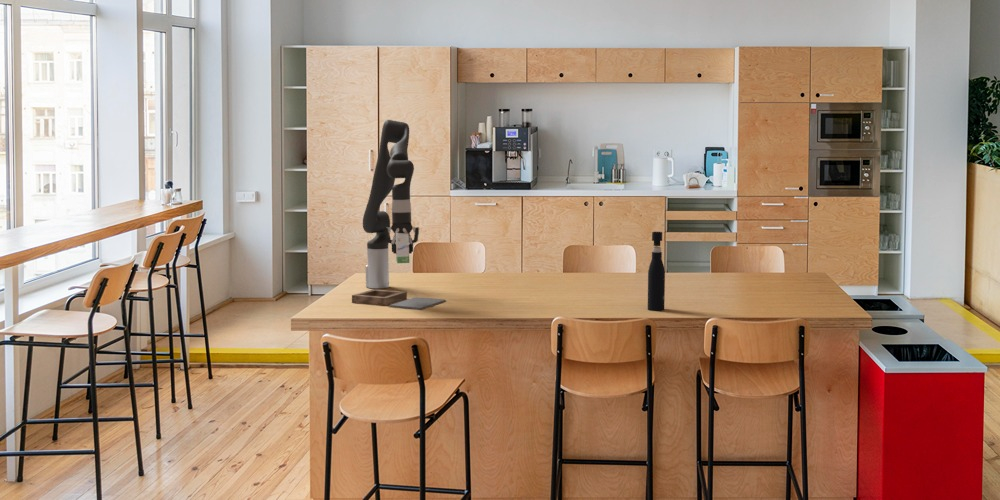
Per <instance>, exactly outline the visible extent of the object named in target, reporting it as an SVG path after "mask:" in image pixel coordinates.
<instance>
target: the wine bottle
mask: <svg viewBox="0 0 1000 500" xmlns="http://www.w3.org/2000/svg"><path fill="white" fill-rule="evenodd" d="M651 241H652V242H653V247H652V252H651V261H650V263H649V266H648V272H647V274H648V275H647V310H648V311H653V312H660V311H661V312H662V311H664V310H665V300H666V299H665V298H666V297H665V295H666V294H665V291H666V290H665V288H666V287H665V286H666V284H665V283H666V271H665V266H664V262H663V258H662V257H663V252H662V247H661V242H662V241H663V232H662V231H652V233H651Z"/></svg>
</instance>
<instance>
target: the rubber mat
mask: <svg viewBox="0 0 1000 500" xmlns="http://www.w3.org/2000/svg"><path fill="white" fill-rule="evenodd" d="M445 302H447V300H446V299H444V298H443V299H441V298H430V297H418V296H415V297H411V298H409V299H408V298H407V299H406V300H403V301H400V302H396V303H393V304H390V305H389V308H397V309H406V310H418V311H420V310H425V309H427V308H431V307H434V306H437V305H439V304H443V303H445Z"/></svg>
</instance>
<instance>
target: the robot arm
mask: <svg viewBox="0 0 1000 500" xmlns="http://www.w3.org/2000/svg"><path fill="white" fill-rule="evenodd" d="M380 135H381V136H380V142H379V149H378V155H377V160H376V164H375V168H374V173H373V176H372V182H371V188H370V193H369V196H368V201H367V204H366V207H365V209H364V213H363V217H362V228H363V231H364V232H365V233H367V234H375V236H374V237H373V238H372V239H370V240H368V241H367V243H366V254H367V258H366V259H367V265H365V288H369V289H387V288H389V287H390V274H389V273H390V271H389V270H390V268H389V267H390V263H389V261H390V260H389V259H390V258H389V254H390V253H389V244H390V245H391V252H392V253H393V254H395V255H396V233H406V234H409V255H410V254H413V253H412V252H414V244H415V243H417V242H418V240H419V236H420V235H419V234H420V227H419V226H417V227H416V226H413V224H412V205H411V204H412V203H411V182H412V179H413V176H414V175H413V174H414V171H415V166H414V165H415V164H414V163H413V162H412V160H409V156H408V155H409V154H408V148H409V140H410V126H409V124H408V123H406V122H404V121H399V120H398V121H397V120H392V119H386V120H385V121H384V122H383V125H382V131H381V134H380ZM389 143H393V145H392V147H391V149H390V150H389V147H388V145H389ZM389 151H390V152H389ZM396 179H404V181H403V182H402V183H397V184H395V181H396ZM390 193H391V198H392V199H391V200H392V201H391V218H390V215H389V213H387V211H384V210H379V209H380V207H381V205H382V204H383V202H384V201H385V200H386V198H387V197H388V195H389V194H390ZM391 221H392V222H391ZM391 223H392V224H391ZM391 230H392V232H393V234H394V235H393V236H392V239H391ZM411 231H413V233H414V236H413V238H412V235H411Z"/></svg>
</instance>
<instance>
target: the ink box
mask: <svg viewBox="0 0 1000 500" xmlns="http://www.w3.org/2000/svg"><path fill="white" fill-rule="evenodd" d="M395 244H396V254H395V261H396V263H397V264H410V254H409V234H406V233H396V242H395Z"/></svg>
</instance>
